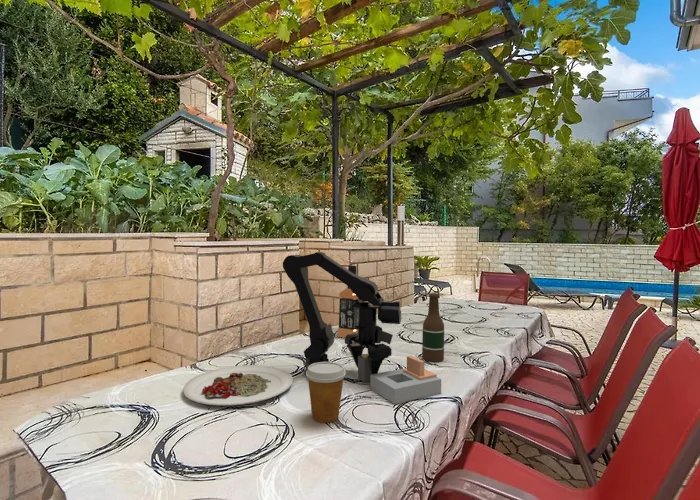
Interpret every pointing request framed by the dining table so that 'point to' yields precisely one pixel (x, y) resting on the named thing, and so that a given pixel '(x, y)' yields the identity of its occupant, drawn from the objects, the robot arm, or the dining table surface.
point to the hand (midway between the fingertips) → (366, 372)
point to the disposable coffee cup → (325, 390)
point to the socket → (403, 386)
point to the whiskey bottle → (348, 310)
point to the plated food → (237, 385)
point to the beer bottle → (433, 332)
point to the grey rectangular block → (364, 368)
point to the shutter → (417, 369)
